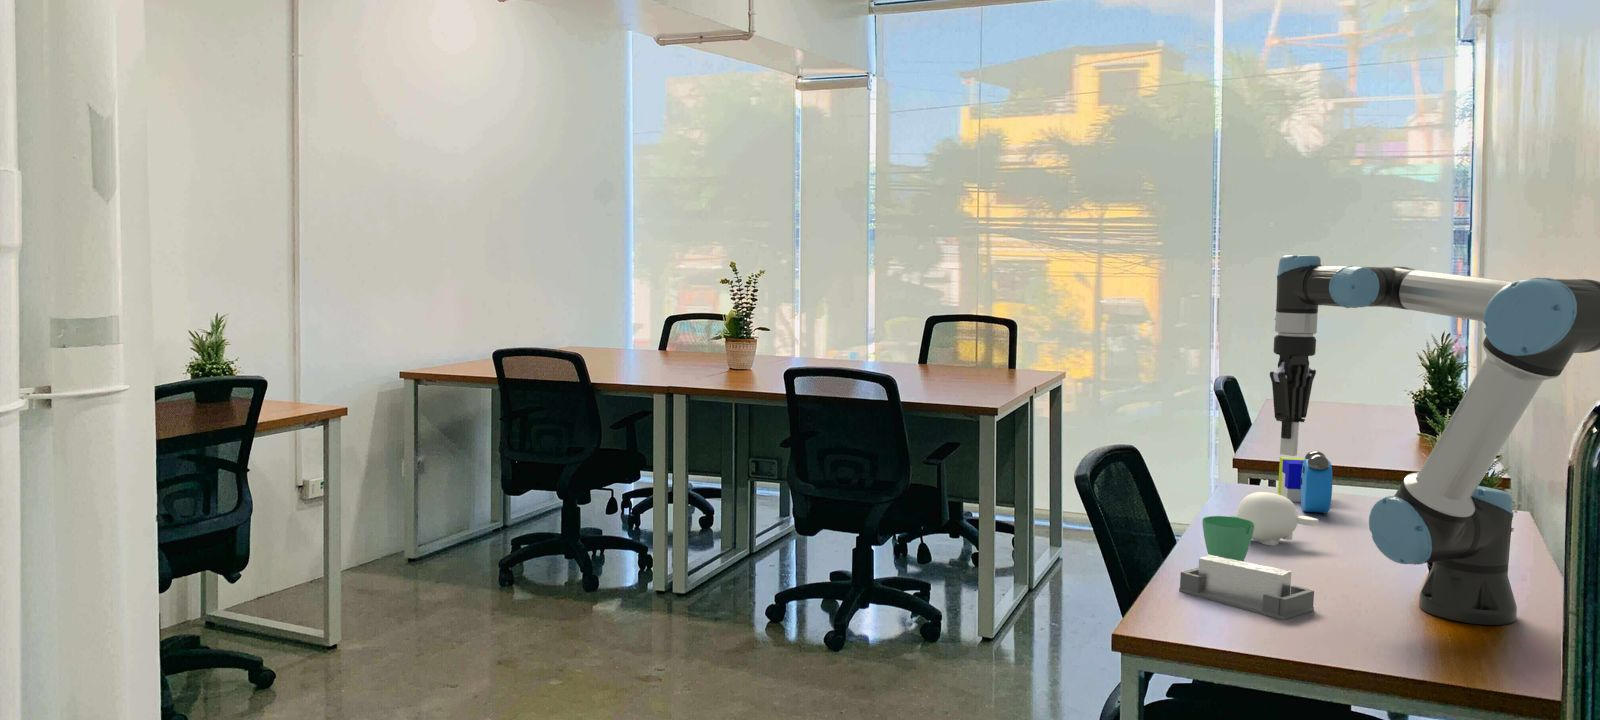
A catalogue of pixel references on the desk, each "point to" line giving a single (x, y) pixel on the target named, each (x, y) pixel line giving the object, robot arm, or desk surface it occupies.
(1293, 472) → the puzzle toy
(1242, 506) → the piggy bank
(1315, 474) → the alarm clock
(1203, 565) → the white rectangular block
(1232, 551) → the mug
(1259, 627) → the desk surface
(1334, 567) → the desk surface
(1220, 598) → the end caps
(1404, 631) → the desk surface
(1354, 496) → the desk surface
